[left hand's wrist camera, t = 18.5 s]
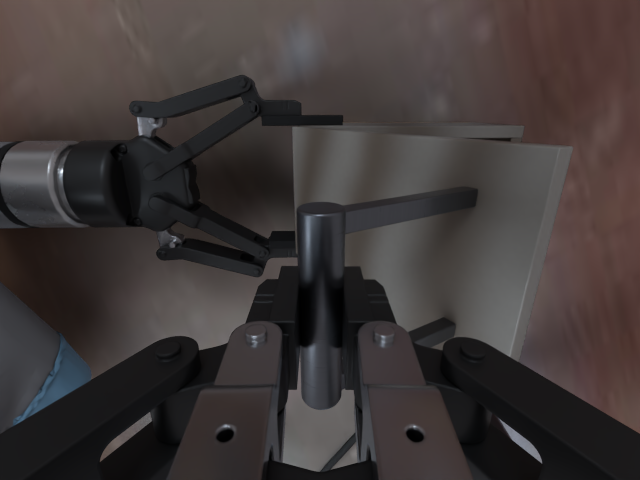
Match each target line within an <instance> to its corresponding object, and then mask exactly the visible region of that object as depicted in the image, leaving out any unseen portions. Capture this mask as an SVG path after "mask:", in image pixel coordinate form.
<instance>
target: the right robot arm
mask: <svg viewBox="0 0 640 480" xmlns="http://www.w3.org/2000/svg"><path fill="white" fill-rule="evenodd" d="M237 97H241V98H242V100H243V102H244V104H243V105H242V106H240V107H239V108H237V109H236V110H234V111H233V112H231V113H230V114H228V115H227V116H225V117H223V118H222V119H220V120H219V121H217V122H216V123H214V124H213V125H211V126H210V127H208V128H207V129H205V130H203V131H202V132H200V133H199V134H197V135H196V136H194V137H193V138H191V139H190V140H188V141H187V142H185V143H183V144H181V145H179V146H178V147H176V148H174V147H173V146H171V145H170V144H168V143H167V142H165V141H163V140H162V139H160V138H159V137H157V136H156V131H157V129H159V128H162V127H164V126H165V125H166V124H167V118H172V117H178V116H182V115H185V114H188V113H191V112H194V111H197V110H200V109H203V108H207V107H210V106H213V105H216V104H219V103H222V102H225V101H228V100H231V99H234V98H237ZM129 109H130V112H131V113H132V114H133V115H134V116H136V117H137V123H138V131H139V136H137V137H135V138H134V139H132V140H115V141H82V142H77V141H18V142H0V228H70V227H89V226H92V227H146V228H149V229H151V230H153V231H156V232H157V236H158V240H159V244H160V249H158V250H157V252H156V255H157V257H158V258H159V259H160V260H178V259H184V260H188V261H192V262H196V263H200V264H204V265H208V266H213V267H217V268H221V269H225V270H229V271H233V272H237V273H241V274H245V275H249V276H254V277H260V276H261V275H262V274H263V271H264V268H265V265H266V262H267V261H268V260H269V259H270V258H278V257H298V255H297V254H296V240H295V231H272V233H271V236H270V237H269V239H267V238H265V237H263V236H261V235H259V234H257V233H255V232H253V231H251V230H249V229H247V228H245V227H244V226H242V225H240V224H238V223H236V222H234V221H232V220H230V219H228V218H226V217H224V216H222V215H220V214H218V213H216V212H214V211H212V210H211V209H210V208H209V207H208V206H207V205H205V204H203V203H201V202H199V201H198V200H199V199H200V193H199V189H198V186H197V184H196V176H197V170H196V165H193V163H192V161H191V160H192V159H194V158H195V157H197V156H198V155H200V154H202V153H203V152H204V151H206V150H207V149H209V148H210V147H212V146H213V145H215V144H217V143H218V142H220V141H221V140H223V139H224V138H226V137H228V136H229V135H231V134H232V133H234V132H235V131H237V130H238V129H240V128H242V127H243V126H245V125H246V124H248V123H249V122H251V121H253V120H254V119H256V118H257V117H259V116H262V126H299V125H343V115H302V114H301V103H300V102H298V101H295V100H263V99H262V98H261V97H260V96H259V94H258V92H257V89H256V87H255V83H254V81H253V80H252V79H250V78H249V77H247V76H245V75H239V76H236V77H233V78H230V79H227V80H224V81H221V82H218V83H215V84H212V85H209V86H206V87H203V88H200V89H197V90H194V91H191V92H188V93H185V94H182V95H178V96H175V97H172V98H169V99H166V100H163V101H160V102H147V101H133V102H131V104H130V106H129ZM178 221H179V222H181V223H183V224H185V225H187V226H189V227H191V228H198V229H200V230H202V231H205V232H207V233H209V234H211V235H213V236H215V237H217V238H219V239H221V240H223V241H225V242H227V243H229V244H231V245H233V246H235V247H237V248H239V249H241V250H243V251H241V250H237V249H233V248H229V247H225V246H221V245H217V244H213V243H209V242H205V241H201V240H197V239H191V238H184V235H183V234H179V233H175V232H173V231H172V229H171V226H173V225H174V224H175V223H176V222H178ZM90 380H91V370H90V367H89V366H88V365H87V363H86V362H85V361H84V360H83V359H82V358H81V357H80V356H79V355H78V354H77V353H76V352H75V350H74V349H73V348H72V347H71V346H70V345H69V344H68V343H67V341H66V340H65V338H64V337H63V335H62V334H61V333H59V332H57V331H55V330H54V329H52V328H51V327H50V326H49V325H48V324H47V323H46V322H45V321H44V320H42V319H41V318H40V317H39V316H38V315H37V314H36V313H35V312H33V311H32V310H31V309H30V308H29V307H28V306H27V305H26V304H25V303H23V302H22V301H21V300H20V299H19V298H18V297H17V296H16V295H15V294H13V293H12V292H11V291H10V290H9V289H8V288H7V287H6V286H4V285H3V284H2V283H1V282H0V434H1V433H3V432H4V431H6V430H8V429H9V428H11V427H13V426H14V425H16V424H18V423H19V422H21V421H23V420H25V419H26V418H28V417H30V416H31V415H33V414H35V413H36V412H38V411H40V410H41V409H43V408H45V407H47V406H48V405H50V404H52V403H53V402H55V401H57V400H58V399H60V398H62V397H63V396H65V395H67V394H68V393H70V392H72V391H74V390H75V389H77V388H79V387H80V386H82V385H84V384H85V383H87V382H89V381H90Z"/></svg>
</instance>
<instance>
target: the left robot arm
mask: <svg viewBox="0 0 640 480" xmlns="http://www.w3.org/2000/svg"><path fill="white" fill-rule="evenodd" d="M299 356H300V309H299V285H298V266H282V267H281V270H280V274H279V278H278V279H267V280H265V281H264V282H263V283H262V284H261V285H259V286H258V289H257V292H256V296H255V298H254V300H253V303H252V306H251V309H250V312H249V315H248V318H247V320H246V323H245V324H243V325H241V326H239V327H238V328H236V329H235V330H234V331H233V332H232V334H231V336H230V338H229V341H228V343H226V344H224V345H221V346H217V347H213V348H208V349H203V350H199V348H198V344H197V342H196V341H195V340H194V339H192V338H189V337H185V336H175V337H169V338H165V339H162V340H159V341H157V342H155V343H153V344H151V345H150V346H148V347H146V348H145V349H143V350H141V351H139V352H138V353H136V354H134V355H133V356H131V357H129V358H128V359H126V360H124V361H123V362H121V363H119V364H118V365H116V366H114V367H112V368H111V369H109V370H107V371H106V372H104V373H102V374H101V375H99V376H97V377H96V378H94V379H92V380H90V381H89V382H87V383H85V384H84V385H82V386H80V387H79V388H77V389H75V390H74V391H72V392H70V393H68V394H67V395H65V396H63V397H62V398H60V399H58V400H57V401H55V402H53V403H52V404H50V405H48V406H47V407H45V408H43V409H41V410H40V411H38V412H36V413H35V414H33V415H31V416H30V417H28V418H26V419H25V420H23V421H21V422H19V423H18V424H16V425H14V426H13V427H11V428H9V429H8V430H6V431H4V432H3V433H1V434H0V480H640V434H639V433H637V432H636V431H634V430H632V429H631V428H629V427H627V426H626V425H624V424H622V423H621V422H619V421H617V420H615V419H614V418H612V417H610V416H609V415H607V414H605V413H604V412H602V411H600V410H599V409H597V408H595V407H593V406H592V405H590V404H588V403H587V402H585V401H583V400H582V399H580V398H578V397H577V396H575V395H573V394H572V393H570V392H568V391H566V390H565V389H563V388H561V387H560V386H558V385H556V384H555V383H553V382H551V381H550V380H548V379H546V378H544V377H543V376H541V375H539V374H538V373H536V372H534V371H533V370H531V369H529V368H528V367H526V366H524V365H522V364H521V363H519V362H517V361H516V360H514V359H512V358H511V357H509V356H507V355H506V354H504V353H502V352H501V351H499V350H497V349H495V348H494V347H492V346H490V345H489V344H487V343H485V342H482V341H480V340H477V339H473V338H468V337H455V338H451V339H449V340H447V341H446V342H445V343H444V345H443V350H439V349H434V348H429V347H425V346H421V345H419V344H416V343H414V342H412V341H411V338H410V336H409V334H408V332H407V331H406V330H405V329H404V328H403V327H401V326H399V325H397V323H396V320H395V317H394V314H393V312H392V309H391V306H390V303H389V300H388V298H387V296H386V292H385V289H384V287H383V286H382V285H381V284H380V283H379V282H378V281H376V280H375V279H363V275H362V271H361V267H360V266H345V272H344V286H343V313H342V357H343V368H344V379H345V390H354V395H355V404H354V418H355V432H356V433H355V434H354V435H353V436H352V437H351V438H350V439H349V440H348V441H347V442H346V443H345V445H344V446H343V447H342V448H341V449H340V450H339V451H338V452H337V453H336V455H335V456H334V457H333V458H332V459H331V460H330V461H329V462H328V463H327V464H326V465H325V467H324V468H323V469H322V470H321V471H320V472H315V471H311V470H308V469H304V468H300V467H296V466H293V465H289V464H285V463H282V462H283V447H284V433H285V418H286V402H287V398H288V390H297V381H298V368H299ZM149 412H150V413H151V417H152V422H150V423H149V424H148V425H147V426H145V427H144V428H143V429H142V430H140V431H139V432H138V433H136V434H135V435H134V436H133V437H131V438H130V439H129V440H128V441H126V442H125V443H124V444H122V445H121V446H120V447H119V448H117V449H116V450H115V451H114V452H112V453H111V454H110V455H109V456H107V457H106V458H105V459H103V460H102V461H101V462H100V457H101V455H102V453H103V451H104V449H105V448H106V446H107V445H108V444H109V443H110V442H111V441H112V440H113V439H114V438H116V437H117V436H118V435H120V434H121V433H122V432H124V431H125V430H126V429H128V428H129V427H130V426H131V425H133V424H134V423H135V422H137V421H138V420H139V419H141V418H142V417H143V416H145V415H146V414H147V413H149ZM500 419H501V420H502V421H503V422H505V423H506V424H507V425H509V426H510V427H511V428H512V429H514V430H515V431H516V432H518V433H519V434H520V435H522V436H523V437H524V438H526V439H527V440H528V441H529V442H531V444H532V445H533V446H534V447H535V448H536V449H537V451H538V452H539V454H540V456H541V459H542V463H540V462H539V461H538V460H537V459H535V458H534V457H533V456H531V455H530V454H529V453H528V452H526V451H525V450H524V449H523V448H521V447H520V446H519V445H518V444H516V443H515V442H514V441H512V439H511V437H510V436H509V434H508V433H507V431H506V429H505V428H504V426H503V424H502V423H501V421H500ZM355 442H356V447H357V461H358V463H355V464H351V465H347V466H344V467H340V468H336V469H332V470H330V469H331V468H332V467H333V466H334V465H335V464H336V463H337V462H338V461H339V460H340V459H341V458H342V456H343V455H344V454H345V453H346V452H347V451H348V450H349V449H350V448H351V446H352V445H353V444H354V443H355Z"/></svg>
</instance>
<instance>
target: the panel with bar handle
mask: <svg viewBox="0 0 640 480" xmlns="http://www.w3.org/2000/svg"><path fill="white" fill-rule="evenodd" d="M292 138H293V172H294V206H295V240H296V254H297V255H298V285H299V309H300V359H301V395H302V398H303V400H304V402H305V403H306V404H307V405H308V406H310V407H311V408H314V409H318V410H324V409H329V408H331V407H333V406H335V405H336V404H337V403H338V402H339V400H340V398H341V390H342V389H344V388H345V379H344V368H343V359H342V313H343V286H344V272H345V266H360V267H361V271H362V275H363V279H375V280H376V281H378V282H379V283H380V284H381V285H382V286H383V287H384V289H385V292H386V296H387V298H388V300H389V303H390V306H391V309H392V312H393V314H394V317H395V320H396V323H397V325H399V326H401V327H403V328H404V329H405V330H406V331H407V332H408V334H409V336H410V338H411V341H412V342H414V343H416V344H419V345H421V346H425V347H429V348H434V349H439V350H443V345H444V343H445V342H446V341H447V340H449V339H451V338H455V337H468V338H473V339H477V340H480V341H482V342H485V343H487V344H489V345H490V346H492V347H494V348H495V349H497V350H499V351H501V352H502V353H504V354H506V355H507V356H509V357H511V358H512V359H514V360H516V361H517V362H519V359H520V355H521V351H522V347H523V343H524V339H525V335H526V331H527V327H528V323H529V320H530V316H531V312H532V308H533V304H534V300H535V296H536V292H537V288H538V284H539V280H540V276H541V272H542V268H543V264H544V261H545V257H546V253H547V249H548V245H549V241H550V237H551V233H552V229H553V225H554V221H555V217H556V213H557V209H558V205H559V201H560V198H561V194H562V190H563V186H564V182H565V178H566V174H567V170H568V166H569V162H570V158H571V154H572V150H573V147H572V146H564V145H550V144H536V143H522V142H508V141H494V140H481V139H467V138H453V137H439V136H425V135H411V134H397V133H384V132H370V131H356V130H342V129H328V128H314V127H292Z"/></svg>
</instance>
